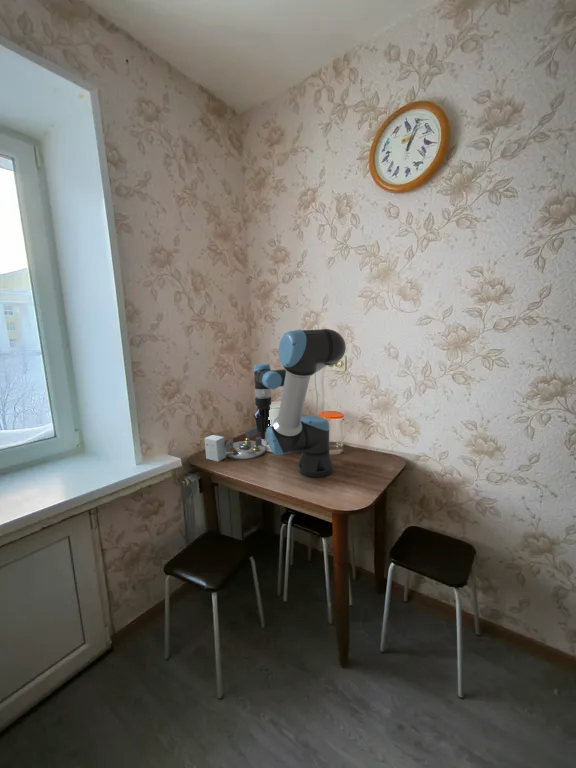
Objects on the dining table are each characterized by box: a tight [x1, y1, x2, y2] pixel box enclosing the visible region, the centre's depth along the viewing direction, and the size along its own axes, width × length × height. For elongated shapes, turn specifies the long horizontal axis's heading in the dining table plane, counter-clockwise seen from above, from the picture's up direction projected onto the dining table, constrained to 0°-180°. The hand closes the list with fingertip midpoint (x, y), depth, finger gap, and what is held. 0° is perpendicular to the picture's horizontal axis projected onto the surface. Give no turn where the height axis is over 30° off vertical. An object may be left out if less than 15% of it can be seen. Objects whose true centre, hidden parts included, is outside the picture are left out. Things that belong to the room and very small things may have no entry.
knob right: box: [243, 426, 259, 443], centre depth 175 cm, size 10×4×6 cm, turn 147°
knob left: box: [225, 438, 235, 452], centre depth 159 cm, size 10×4×6 cm, turn 177°
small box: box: [204, 434, 227, 463], centre depth 158 cm, size 8×6×10 cm
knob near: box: [253, 436, 269, 451], centre depth 162 cm, size 10×4×6 cm, turn 101°
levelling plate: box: [225, 440, 266, 460], centre depth 166 cm, size 20×20×4 cm
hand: (264, 444), depth 160 cm, fingers closed
